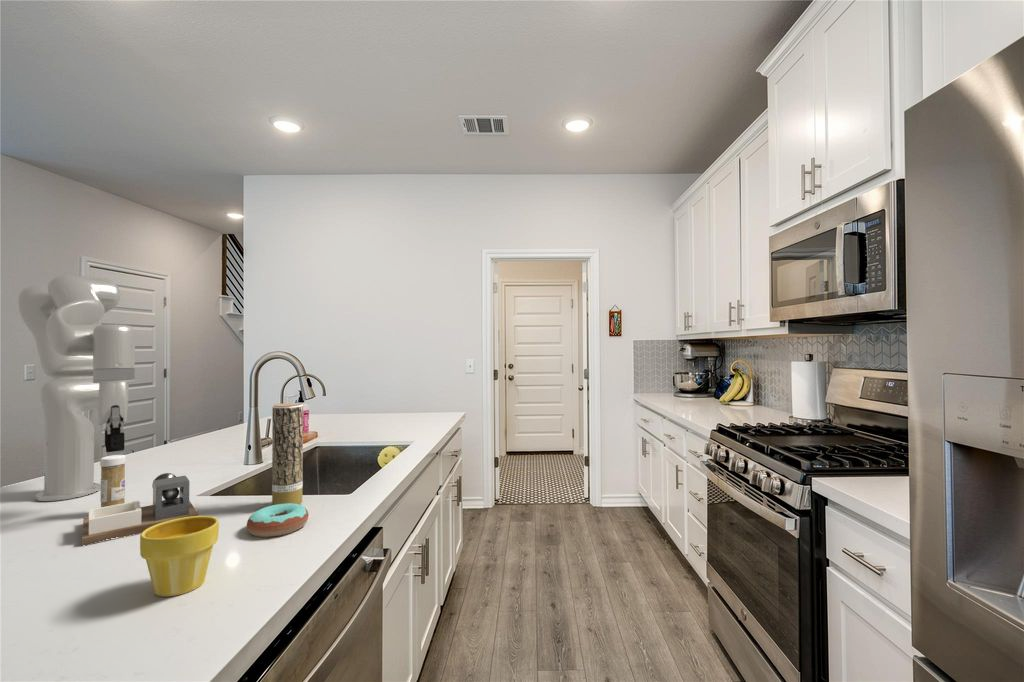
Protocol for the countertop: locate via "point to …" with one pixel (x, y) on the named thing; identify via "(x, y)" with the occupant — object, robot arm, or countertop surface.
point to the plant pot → (179, 553)
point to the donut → (277, 520)
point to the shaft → (169, 493)
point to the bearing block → (173, 507)
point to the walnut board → (146, 523)
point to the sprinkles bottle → (112, 480)
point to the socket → (114, 517)
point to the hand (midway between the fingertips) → (114, 448)
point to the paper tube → (287, 453)
